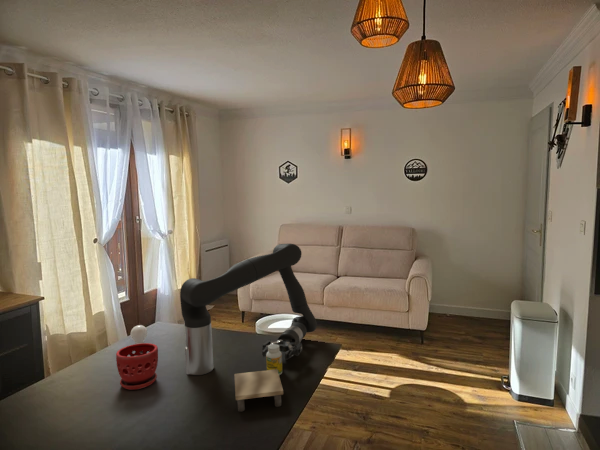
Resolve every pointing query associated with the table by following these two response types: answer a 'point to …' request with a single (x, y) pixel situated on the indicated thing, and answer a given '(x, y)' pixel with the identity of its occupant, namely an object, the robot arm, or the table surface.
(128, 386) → the plant pot
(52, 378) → the table surface
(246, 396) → the peg shelf
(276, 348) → the supplement bottle
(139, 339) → the lightbulb
